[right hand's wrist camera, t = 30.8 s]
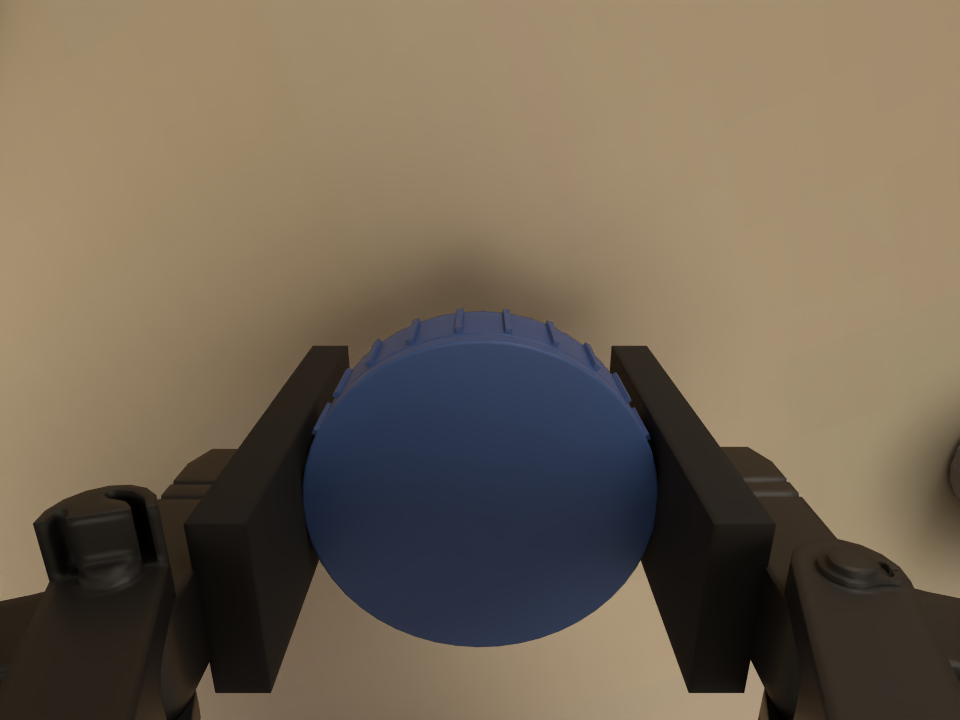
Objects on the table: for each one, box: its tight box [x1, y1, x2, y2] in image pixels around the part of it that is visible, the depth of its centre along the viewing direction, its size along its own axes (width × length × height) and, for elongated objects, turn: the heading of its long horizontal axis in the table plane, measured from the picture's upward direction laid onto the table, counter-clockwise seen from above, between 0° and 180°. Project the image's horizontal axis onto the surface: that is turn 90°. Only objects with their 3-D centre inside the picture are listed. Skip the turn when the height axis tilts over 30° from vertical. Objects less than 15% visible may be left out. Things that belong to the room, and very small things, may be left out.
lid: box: [302, 308, 658, 647], centre depth 11 cm, size 6×6×2 cm
